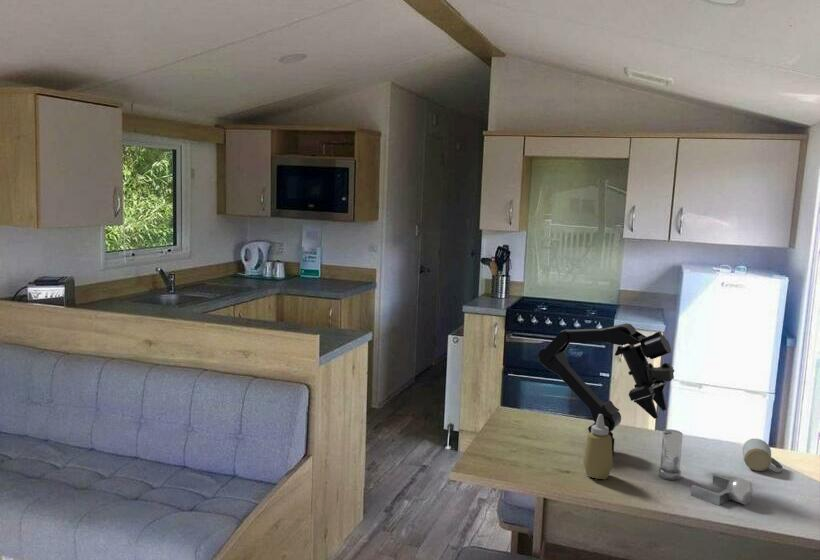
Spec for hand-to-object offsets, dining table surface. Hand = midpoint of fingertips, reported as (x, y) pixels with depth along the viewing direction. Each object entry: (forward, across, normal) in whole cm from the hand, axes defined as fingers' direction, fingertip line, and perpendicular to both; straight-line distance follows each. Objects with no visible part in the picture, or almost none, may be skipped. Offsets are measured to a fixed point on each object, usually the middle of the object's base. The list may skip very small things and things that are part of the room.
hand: (660, 414), depth 198 cm
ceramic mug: (+26, +17, -15) cm, 35 cm away
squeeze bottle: (+8, -19, +18) cm, 27 cm away
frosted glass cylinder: (+16, -6, +3) cm, 18 cm away
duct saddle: (+23, -11, -10) cm, 28 cm away
